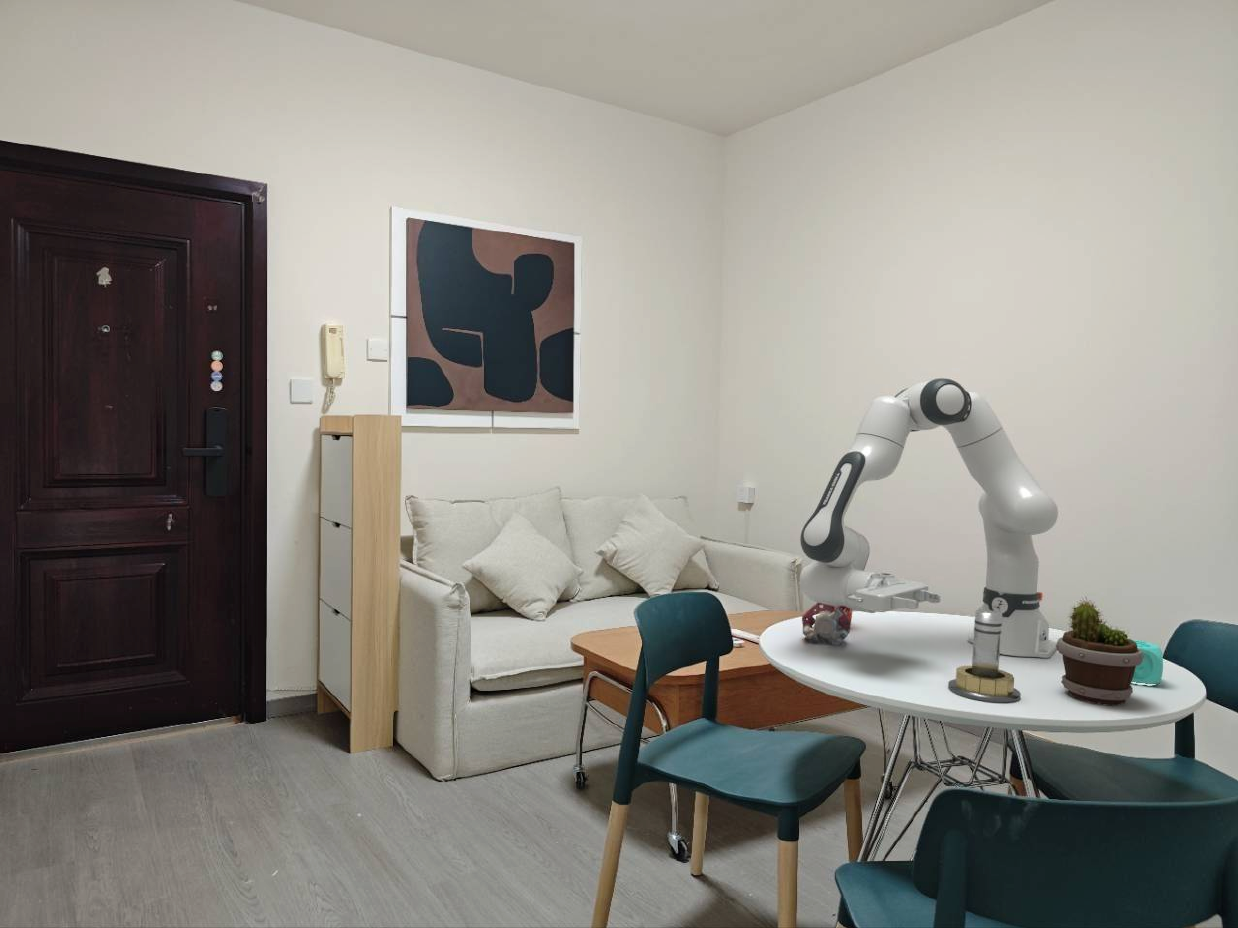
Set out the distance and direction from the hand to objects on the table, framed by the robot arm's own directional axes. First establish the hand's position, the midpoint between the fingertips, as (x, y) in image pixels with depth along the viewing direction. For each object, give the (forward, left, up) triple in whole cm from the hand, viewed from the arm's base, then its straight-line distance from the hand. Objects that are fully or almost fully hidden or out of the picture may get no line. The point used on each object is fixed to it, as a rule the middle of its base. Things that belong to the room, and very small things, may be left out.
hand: (928, 601), depth 176 cm
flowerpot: (-15, +28, -16) cm, 35 cm away
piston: (+1, +13, -15) cm, 19 cm away
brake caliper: (-7, -28, -16) cm, 33 cm away
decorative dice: (-36, +29, -16) cm, 49 cm away
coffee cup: (-23, -35, -16) cm, 45 cm away
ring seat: (+1, +13, -15) cm, 20 cm away
